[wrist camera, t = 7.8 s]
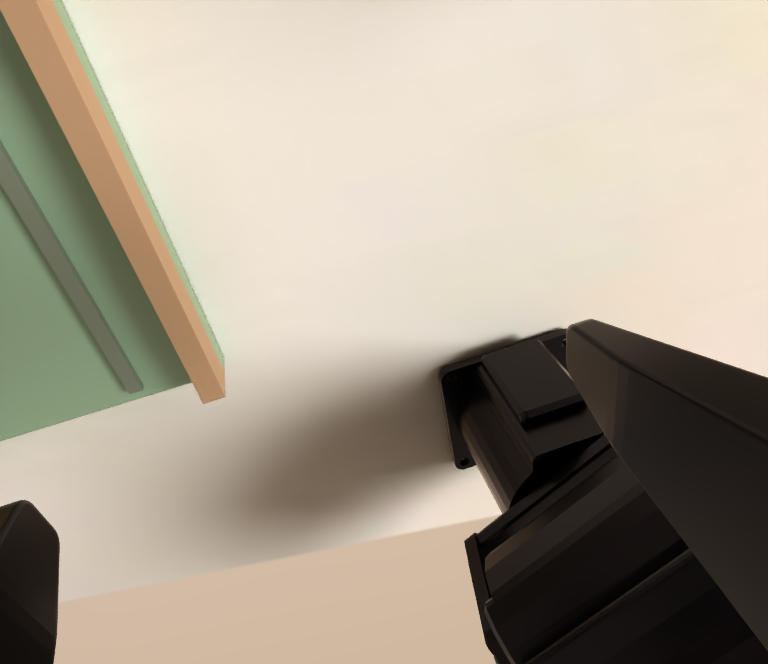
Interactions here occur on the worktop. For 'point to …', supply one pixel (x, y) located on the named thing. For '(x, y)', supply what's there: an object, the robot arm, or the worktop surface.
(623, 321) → the worktop surface
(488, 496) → the worktop surface
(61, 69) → the pitch
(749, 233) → the worktop surface
